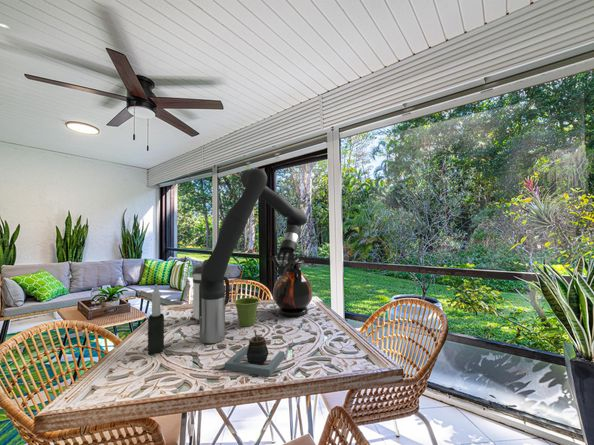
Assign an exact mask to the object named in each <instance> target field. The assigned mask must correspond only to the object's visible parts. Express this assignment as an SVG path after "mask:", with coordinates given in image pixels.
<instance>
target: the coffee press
mask: <svg viewBox="0 0 594 445" xmlns="http://www.w3.org/2000/svg"><path fill="white" fill-rule="evenodd" d="M206 260H207V259H205V260H203V263H204V262H205V261H206ZM201 267H202V264H200V265H196V266H195V267H194V268H193V269H192V272H191V274H190V277H189V278H192V284H193V285H192V286H193V287H192V291H193V292H192V293H193V294H192V295H193V296H192V301H193V302H192V304H193V306H192V313H193V314H192V316H191V318H190V319H191V320H192V321H193V320H197V324H198V325H200V316H202V292H201ZM224 284H225V306H226V305H228V303H229V302H230V280H229V279H228V277H226V276H225V275H224Z"/></svg>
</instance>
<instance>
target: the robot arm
mask: <svg viewBox="0 0 594 445" xmlns="http://www.w3.org/2000/svg"><path fill="white" fill-rule="evenodd" d="M240 183H241V185H242V186H243V188H244V190H243V191H242V194H241V195H240V197H239V198H238V200H237V201H236V202H235V203H234V204H233V205H232V207H230V209H229V210H228V212H227V213H226V215H225V217H224V220H223V222H222V224H221V227H220V229H219V233H218V236H217V240H216V243H215V246H214V249H213V250H212V252H211V254H210V256H209V257H208V259H205V260H206V261H205V262H204V261H203V263H202V264H201V265H202V267H201V292H202V316H200V324H199V341H201V342H202V343H205V344H216V343H220V342H222V341H224V340H225V339H226V305H225V299H226V288H225V281H224V276H225V274H226V272H227V270H228V266H229V263H230V260H231V256H232V254H233V252H234V250H235V248H236V246H237V244H238V243H239V241H240V239H241V237H242V234H243V232H244V231H245V229H246V227H247V225H248V221H249V219H250V217H251V215H252V212H253V210H254V208H255V206H256V203H258V202H257V201H258V200H259V198H261V199H262V200H263V201H264V202H265V203H266V204H268V205H270V207H272V208H273V209H274V210H275V211H276V212H277V213H278V214H279V215H280V216H282V217H283V218H286V223H285V224H286V230H285V232H284V236H283V238H282V241H281V243H280V247H279V250H278V252H277V254H276V255H272V256H271V259H272V261H273V263H274V264H275V267H276V268H277V275H278V277H280V276H283V275H284V274H285V271H286V269H287V268H289V269H290V268H291V267H292V266H294V265H295V264H296V263H297V262H299V260H300V258H299V256H298V255H297V256H296V254H297V249H298V246H299V241H300V240H299V239H300V237H301V232H302V231H301V230H302V229H301V226H304V225H306V224H307V222H308V215H307V214H306V213H305V212H304V211H303V210H302V209H299V208H298V207H296V206H293V205H292V204H291V202H289V201H288V200H287V199H286V198H285V197H283V196H282V195H280V194H279V193H277V191H276V192H275V191H274V190H272V189H270V187H268V186H267V183H268V175H267V173H266V171H265V170H263V169H261V168H249V169H245V170H244V171H243V172H242V173H241V175H240ZM278 260H279V262H278Z"/></svg>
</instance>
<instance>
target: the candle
mask: <svg viewBox="0 0 594 445" xmlns="http://www.w3.org/2000/svg"><path fill="white" fill-rule="evenodd" d="M164 349H165V315H164V313H162V312H161V291H160V290H159V288H158V284H157V283H156V284H154V289H153V291H152V293H151V314H149V316H148V319H147V355H148V356H151V355H158V354H159V355H160V354H161V353H163V352H164Z"/></svg>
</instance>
